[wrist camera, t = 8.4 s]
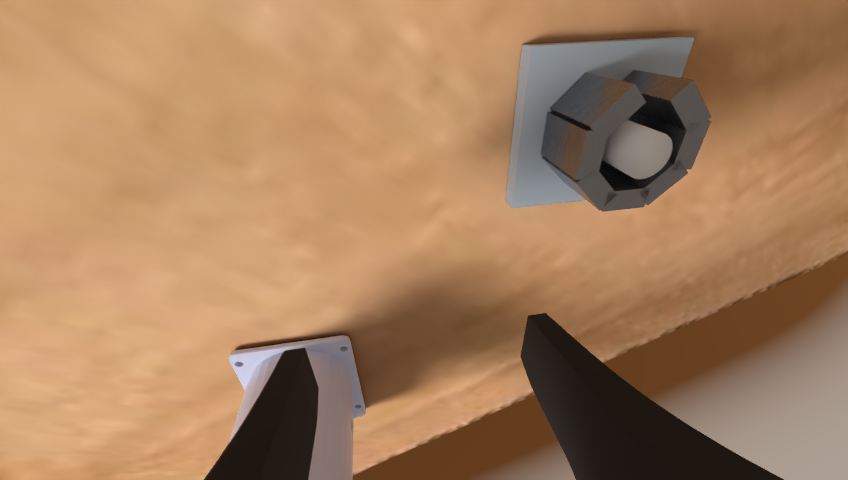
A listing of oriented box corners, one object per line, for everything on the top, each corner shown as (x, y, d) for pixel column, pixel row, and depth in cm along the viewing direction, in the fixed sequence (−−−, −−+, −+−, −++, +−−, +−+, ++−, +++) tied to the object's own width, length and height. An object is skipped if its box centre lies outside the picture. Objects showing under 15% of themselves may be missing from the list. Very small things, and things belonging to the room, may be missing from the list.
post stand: (630, 187, 21) (697, 228, 17) (505, 200, 20) (543, 247, 16) (678, 36, 17) (783, 41, 13) (522, 44, 16) (579, 52, 12)
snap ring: (629, 176, 19) (676, 203, 16) (535, 185, 19) (567, 215, 16) (663, 68, 16) (728, 77, 13) (553, 74, 16) (596, 86, 13)
